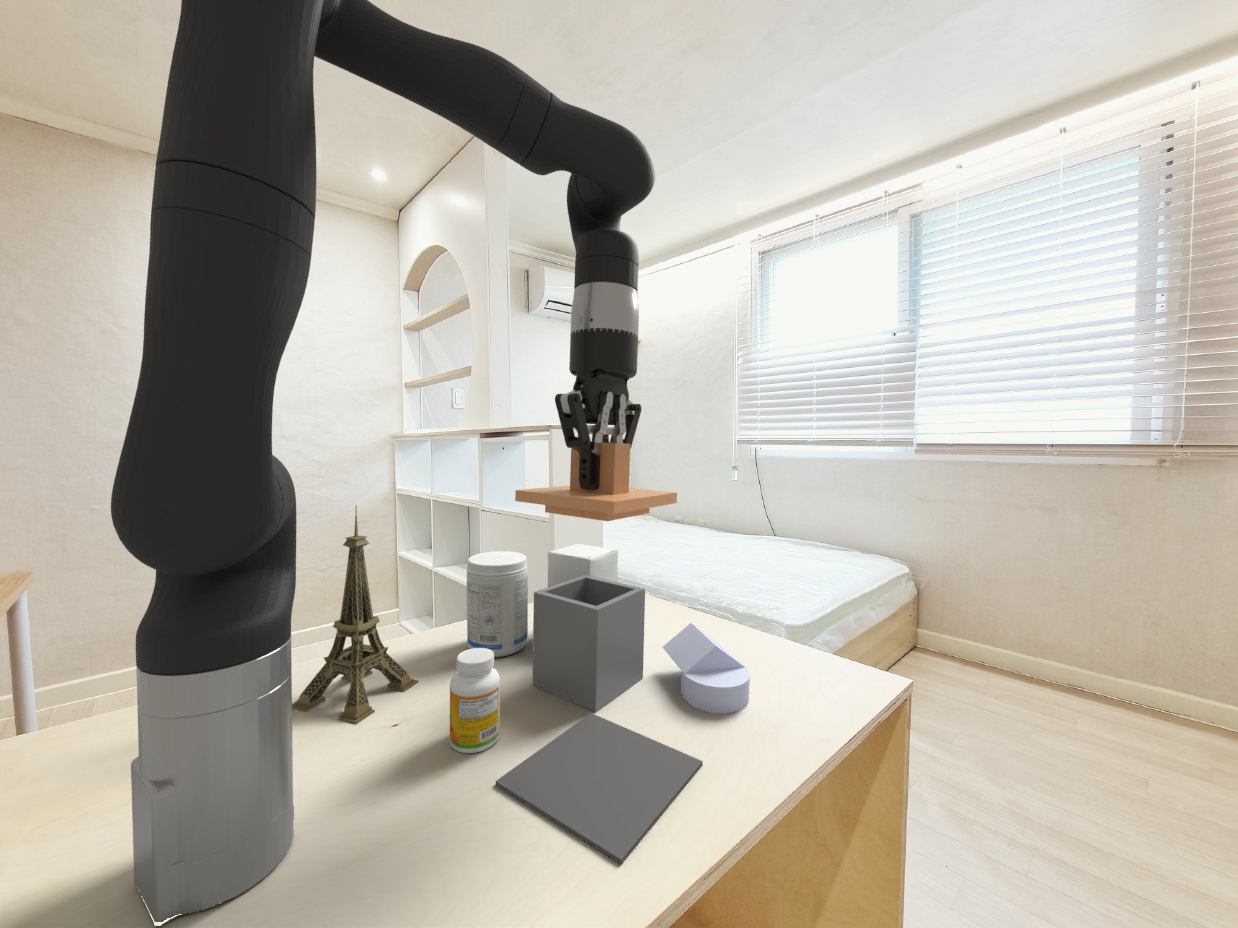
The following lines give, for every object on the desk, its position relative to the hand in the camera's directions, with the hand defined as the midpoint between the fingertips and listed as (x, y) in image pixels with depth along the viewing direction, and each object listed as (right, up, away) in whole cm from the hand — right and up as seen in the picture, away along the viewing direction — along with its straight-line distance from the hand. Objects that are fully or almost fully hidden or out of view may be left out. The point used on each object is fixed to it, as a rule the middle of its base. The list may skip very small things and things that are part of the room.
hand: (599, 487), depth 55 cm
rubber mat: (+1, -29, -5) cm, 29 cm away
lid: (0, -3, 0) cm, 3 cm away
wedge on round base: (+15, -29, +13) cm, 35 cm away
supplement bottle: (-14, -29, 0) cm, 32 cm away
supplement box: (-4, -27, +30) cm, 41 cm away
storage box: (-2, -28, +14) cm, 31 cm away
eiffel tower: (-32, -28, +9) cm, 43 cm away
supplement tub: (-18, -27, +24) cm, 41 cm away
